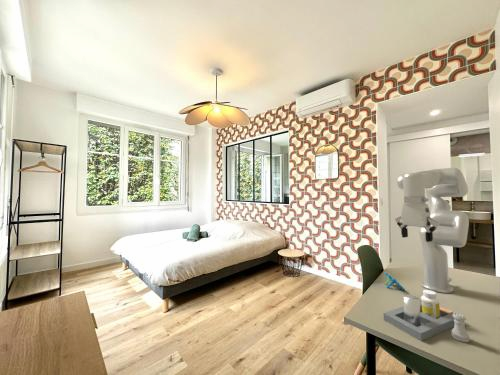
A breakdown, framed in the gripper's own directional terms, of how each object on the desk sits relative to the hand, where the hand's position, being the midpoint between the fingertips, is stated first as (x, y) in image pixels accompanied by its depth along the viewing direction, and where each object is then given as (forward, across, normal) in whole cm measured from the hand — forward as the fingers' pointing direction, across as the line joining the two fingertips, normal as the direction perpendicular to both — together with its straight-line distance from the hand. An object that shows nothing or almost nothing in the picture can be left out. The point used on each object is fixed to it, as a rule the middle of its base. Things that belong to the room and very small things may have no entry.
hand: (416, 239), depth 93 cm
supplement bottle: (+28, -8, +7) cm, 30 cm away
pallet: (+28, -8, +13) cm, 32 cm away
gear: (+29, +15, -5) cm, 33 cm away
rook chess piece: (+28, -19, +12) cm, 36 cm away
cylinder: (+28, -8, +18) cm, 35 cm away
